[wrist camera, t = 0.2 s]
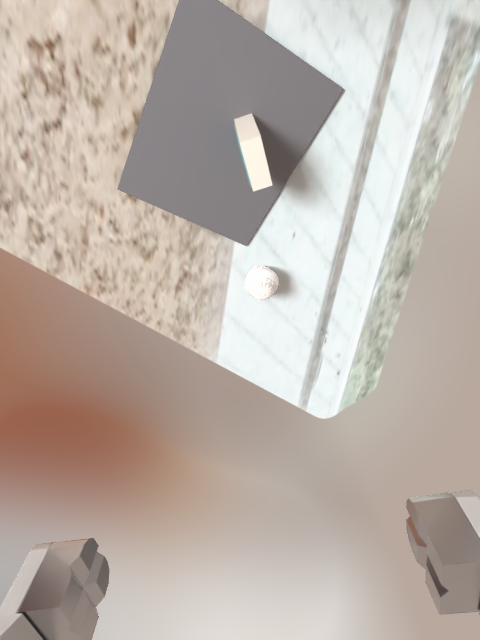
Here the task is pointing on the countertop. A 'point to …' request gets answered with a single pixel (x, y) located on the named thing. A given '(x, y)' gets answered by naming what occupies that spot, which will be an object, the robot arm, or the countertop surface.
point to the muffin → (261, 282)
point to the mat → (222, 119)
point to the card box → (252, 152)
